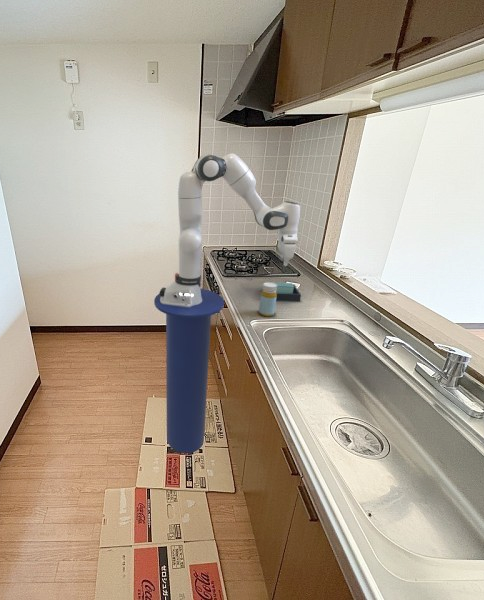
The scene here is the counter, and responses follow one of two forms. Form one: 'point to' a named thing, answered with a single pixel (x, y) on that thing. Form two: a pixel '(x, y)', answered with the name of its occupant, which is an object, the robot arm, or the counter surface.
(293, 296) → the tote
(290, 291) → the case
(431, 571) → the counter surface
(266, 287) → the bottle
